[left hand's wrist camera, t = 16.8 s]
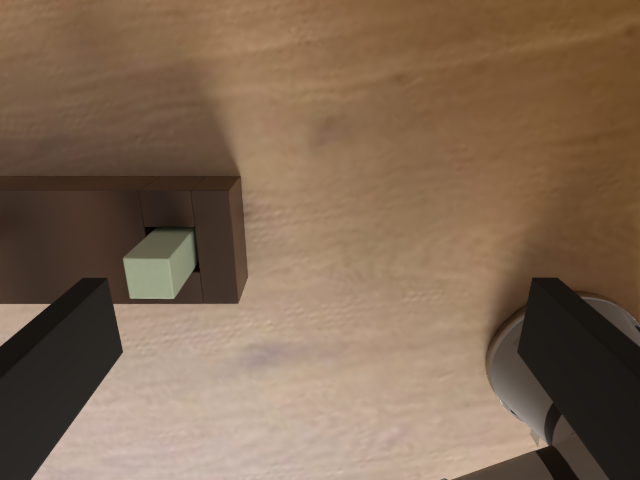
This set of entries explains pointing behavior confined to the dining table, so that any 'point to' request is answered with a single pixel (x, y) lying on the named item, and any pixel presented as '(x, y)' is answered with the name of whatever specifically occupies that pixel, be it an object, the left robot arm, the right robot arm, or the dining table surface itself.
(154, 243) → the peg
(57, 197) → the peg block
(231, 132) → the dining table surface
